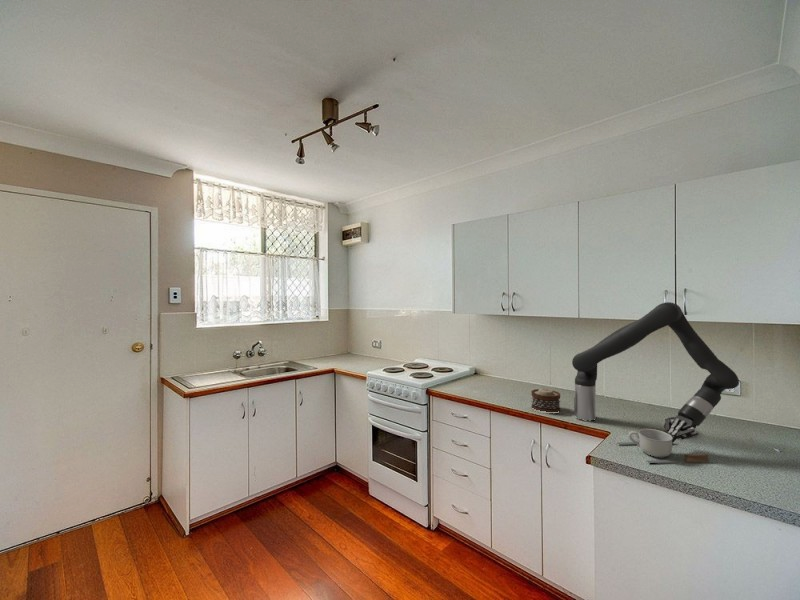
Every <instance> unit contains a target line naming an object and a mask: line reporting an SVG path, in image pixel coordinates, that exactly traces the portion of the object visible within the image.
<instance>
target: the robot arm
mask: <svg viewBox="0 0 800 600" xmlns="http://www.w3.org/2000/svg"><path fill="white" fill-rule="evenodd" d="M667 326H668V327H669V328H670V329H671V330H672V331H673V332H674V334H675V335H676V336H677V338H678V339H679V341H680V342H681V344H682V345H683V347H684V348H685V350H686V352H687V354H688V355H689V356H690V357H691V359H692V360H693V361H694V363H696V365H697V366H698V367H699V368H700V369H702V370H705V371H707V372H708V373H709V375H707V376H706V378H705V379H704V381H703V383H702V384H701V387H700V388H699V389H698V390H697V392H695V393H694V395H693V396H691V397H690V398H689V399H688V400H687V401H686V402H685V404H683V406H682V407H681V408H680V409H679V410H678V412H677V413H678V414H677V415H676V416H673V417H674V419H671V420H670V419H669V418H670V417H667V418H665V419H666V430H667V431H668V432H667V434H669V435H671V436H672V438H673V439H672V444H674V443H675V441H676V440H677V439H678V440H679V439H680V440H685V439H689V438H692V437H695V436H698V434H699V433H698V432H697V431H696V428H697V427H698V426H700V425H701V424H702V423H703V422H704V420H705V419H706V418H707V417H708V416H709V415H710V414H711V413H712V411H713V410H714V408H715V407H716V406H717V405H718V404H719V403H720V401H721V400H722V396H721V394H722V393H723V392H724V391H725V390H732V389H735V388H737V387H738V386H739V385H740V384H739V383H740V379H739V377H738V376H737V374H736V372H735V371H734V370H733V369H732V368H731V367H729V366H728V365H726V364H725V363H724V362H723V361H722V360H720V358H719V357H718V356H717V355H715V353H714V351H712V349H710V347H709V345H708V344H707V343H706V342H704V340H703V339H702V338H701V336H700V335H699V334H698V333H697V332H696V331H695V330H694V328H693V327H692V326H691V324H690V322H689V321H688V319H687V317H686V316H685V314H684V312H683V310H682V308H681V307H680V306H679V305H678V304H677V303H674V302H669V301H667V302H663V303H659V304H658V305H656V306H655V307H654V308H653V309H652V310H650V311H649V312H648V313H646V314H645V315H644V316H641V318H639V319H637V320H635V321H633V322H631V323H628V324H626V325H624V326H622V327H620V328H618V329H617V330H615V331H614V332H612V333H611V334H608V335H607V336H606V337H605V338H603V339H602V340H601V341H599V342H598V343H597V344H595V345H594V346H592V347H590V348H588V349H586V350H583V351H582V352H580V353H579V352H578V353H576V354H575V356H574V357H572V362H571V363H572V364H571V365H572V367H573V368H574V369H575V370H576V371H577V373H576V376H575V377H574V397H573V398H574V399H573V403H574V404H573V405H574V406H573V407H574V408H573V410H574V411H573V413H574V414H575V416H576V417H577V418H579V419H584V420H594V419H596V418H597V416H596V415H597V414H596V413H597V412H596V411H597V408H596V407H597V406H596V405H597V404H596V403H597V401H596V397H597V395H596V392H597V391H596V387H597V386H596V382H597V379H598V364H599V363H600V362H602V361H604V360H606V359H609V358H611V357H613V356H616V355H618V354H621V353H623V352H625V351H626V350H628V349H631V348H632V347H634V346H636V345H638V343H640V342H641V341H642V340H644V339H645V338H647V337H648V336H649V335H650V334H652V333H654V332H656V331H658V330H660V329H663V328H665V327H667ZM575 416H574V417H575ZM579 419H578V420H579ZM666 430H665V431H666ZM673 431H674V432H673Z"/></svg>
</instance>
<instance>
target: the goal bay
mask: <svg viewBox="0 0 800 600" xmlns="http://www.w3.org/2000/svg"><path fill="white" fill-rule="evenodd" d="M617 444H619V445H627V446H637V444H635V443H634V442H632V441H630V442H629V441H625V442H616V445H617ZM619 445H618V446H619ZM646 461H647V462H648V463H658V464H657V465H665V464H670V465H671V464H676V461H675V460H674V459H657V460H656V459H655V460H646ZM648 463H647V464H648ZM659 463H660V464H659ZM661 463H662V464H661ZM664 463H665V464H664Z"/></svg>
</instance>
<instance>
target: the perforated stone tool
mask: <svg viewBox="0 0 800 600" xmlns="http://www.w3.org/2000/svg"><path fill="white" fill-rule="evenodd" d="M674 417H675V416H671V417H668V418H669V419H670V420H671V419H674ZM666 419H667V418H665V419H664V421H665V422H664V424H663V428H664V430H665V433H668V431H667V430H666ZM673 432H674V431H673Z"/></svg>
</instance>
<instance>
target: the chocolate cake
mask: <svg viewBox="0 0 800 600" xmlns="http://www.w3.org/2000/svg"><path fill="white" fill-rule="evenodd" d="M530 395H531V398H530V399H532V400H531V401H530V402H531V409H532V408H534V409H536V410H540V411H546V412H558V411H560V412H561V406H560V405H561V400H560V399H561V393H560V392H558V391H557V390H552V389H549V388H537V389H532V390H531V394H530Z"/></svg>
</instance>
